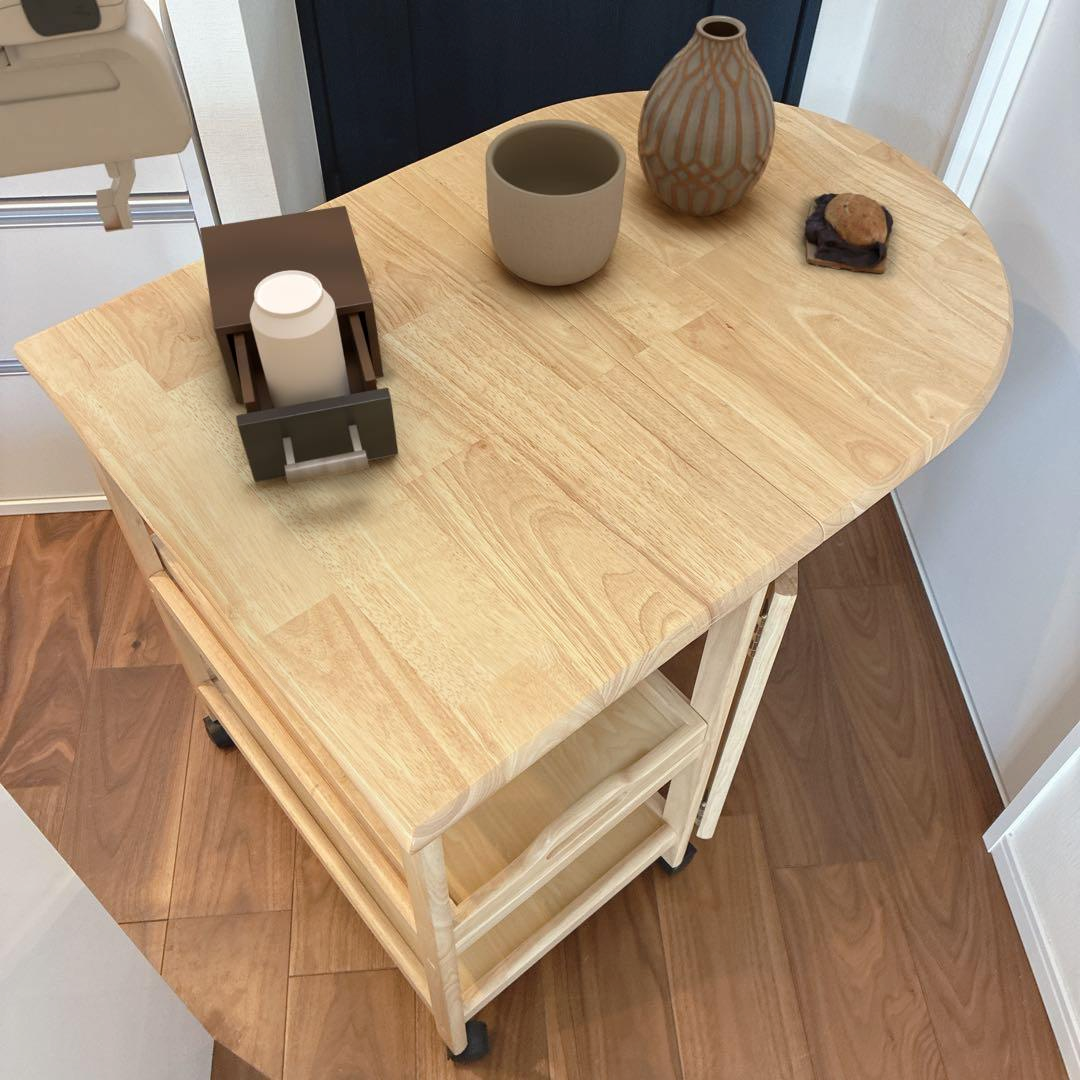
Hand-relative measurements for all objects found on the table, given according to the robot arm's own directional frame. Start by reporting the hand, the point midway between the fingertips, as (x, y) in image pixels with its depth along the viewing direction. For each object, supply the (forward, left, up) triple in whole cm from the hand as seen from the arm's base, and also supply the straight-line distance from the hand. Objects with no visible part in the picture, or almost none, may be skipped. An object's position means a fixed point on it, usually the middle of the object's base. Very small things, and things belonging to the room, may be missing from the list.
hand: (32, 237), depth 59 cm
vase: (+55, +31, -27) cm, 69 cm away
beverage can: (+13, +8, -25) cm, 29 cm away
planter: (+38, +25, -27) cm, 53 cm away
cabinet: (+13, +20, -27) cm, 36 cm away
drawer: (+13, +7, -26) cm, 30 cm away
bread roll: (+67, +21, -27) cm, 75 cm away
